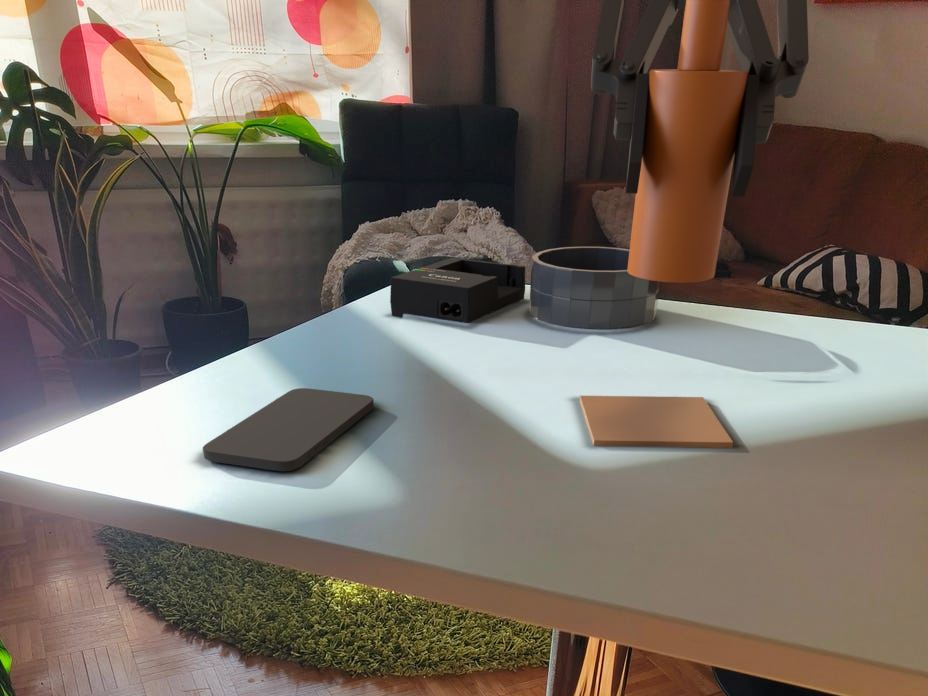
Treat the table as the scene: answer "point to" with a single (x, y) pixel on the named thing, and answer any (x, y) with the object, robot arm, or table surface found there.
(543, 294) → the pot
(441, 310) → the battery charger
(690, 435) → the cork mat
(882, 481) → the table surface
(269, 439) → the phone
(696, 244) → the bottle
